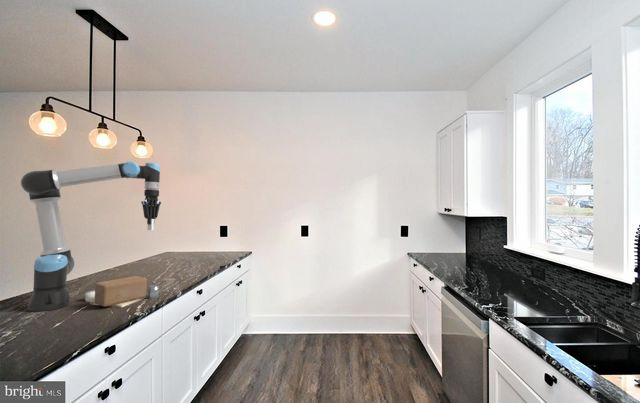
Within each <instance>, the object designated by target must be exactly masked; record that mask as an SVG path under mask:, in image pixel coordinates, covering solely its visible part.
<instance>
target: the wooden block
mask: <svg viewBox="0 0 640 403" xmlns="http://www.w3.org/2000/svg"><path fill="white" fill-rule="evenodd" d="M147 281H148V280H147V278H146V277H143V276H138V275H134V276H129V277H123V278H116V279H111V280H105V281H100V282H97V283H95V284H94V291H95V303H96V304H99V305H98V306H102V307H110V306H109V305H114V304H118V303H122V302H126V301H130V300H135V299H139V298H143V297H146V296H147V288H148V286H147V285H148V284H147Z"/></svg>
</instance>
